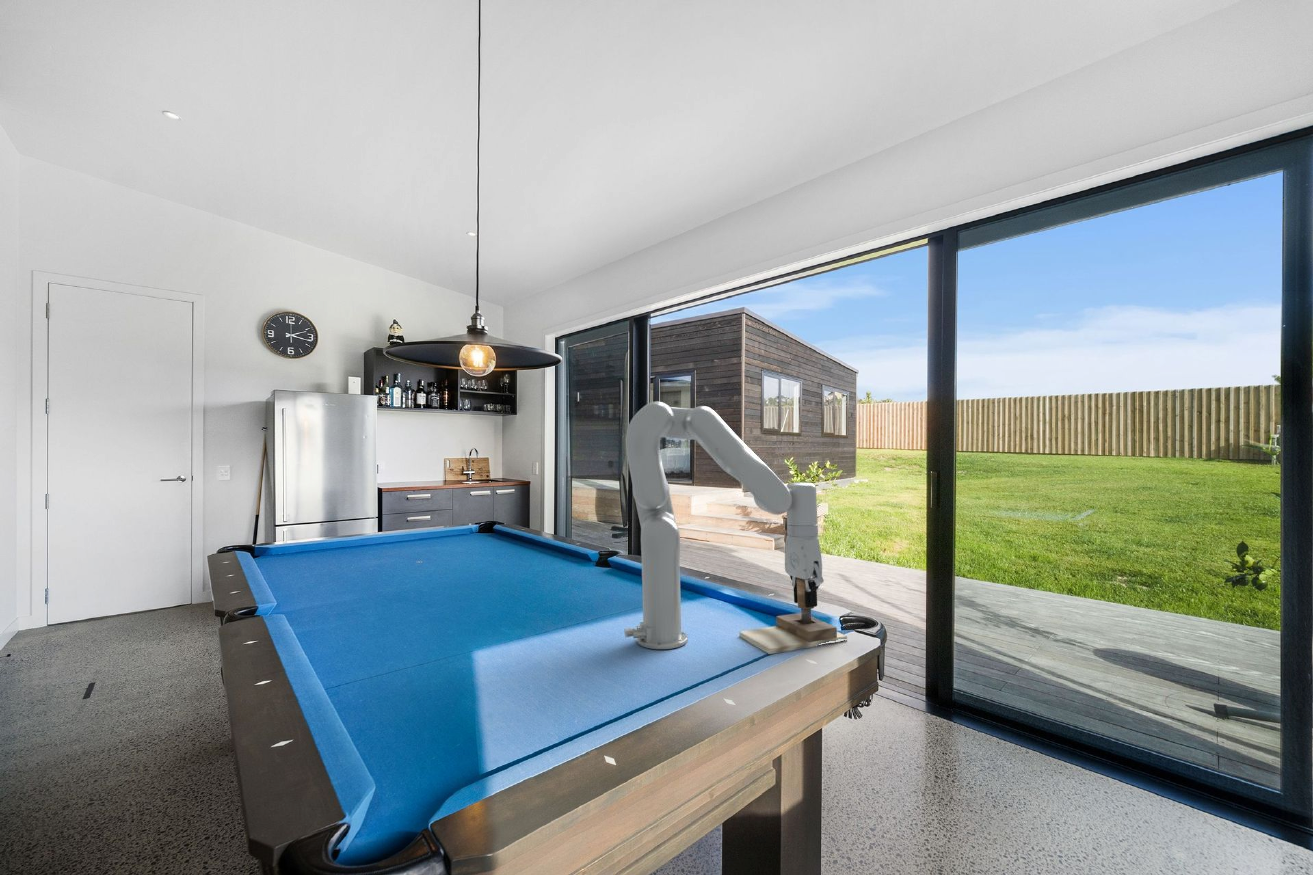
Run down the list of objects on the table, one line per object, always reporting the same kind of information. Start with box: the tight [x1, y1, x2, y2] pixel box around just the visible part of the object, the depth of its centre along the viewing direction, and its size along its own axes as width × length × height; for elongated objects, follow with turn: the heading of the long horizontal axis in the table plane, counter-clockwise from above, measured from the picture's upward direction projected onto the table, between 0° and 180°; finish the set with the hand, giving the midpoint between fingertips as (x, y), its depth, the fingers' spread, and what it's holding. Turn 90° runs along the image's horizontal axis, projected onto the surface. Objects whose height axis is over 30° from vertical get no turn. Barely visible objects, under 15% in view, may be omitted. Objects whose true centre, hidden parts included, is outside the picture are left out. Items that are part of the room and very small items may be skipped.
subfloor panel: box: [738, 612, 848, 655], centre depth 138 cm, size 22×14×4 cm, turn 111°
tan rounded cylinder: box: [797, 578, 815, 622], centre depth 139 cm, size 4×4×10 cm
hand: (805, 603), depth 139 cm, fingers closed on tan rounded cylinder, 4 cm apart
